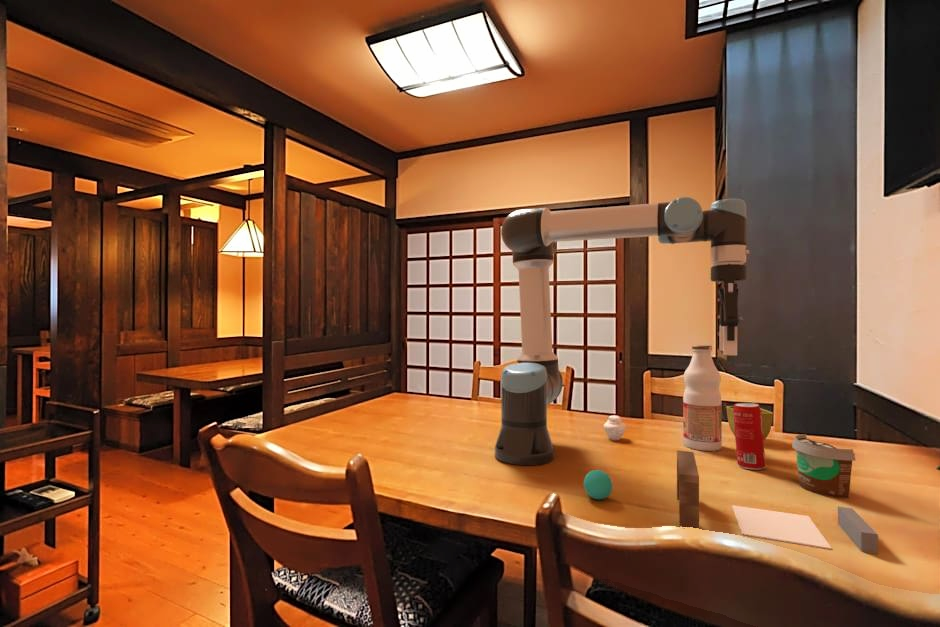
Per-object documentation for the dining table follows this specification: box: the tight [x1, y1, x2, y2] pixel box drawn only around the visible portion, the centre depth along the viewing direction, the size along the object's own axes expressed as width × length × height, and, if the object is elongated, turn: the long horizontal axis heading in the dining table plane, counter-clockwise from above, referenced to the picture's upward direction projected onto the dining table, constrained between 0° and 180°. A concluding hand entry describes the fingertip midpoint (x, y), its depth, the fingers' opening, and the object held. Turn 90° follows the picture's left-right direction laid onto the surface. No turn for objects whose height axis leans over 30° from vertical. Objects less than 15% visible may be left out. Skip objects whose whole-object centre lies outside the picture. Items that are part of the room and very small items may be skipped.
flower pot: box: [725, 405, 774, 441], centre depth 130 cm, size 9×9×9 cm
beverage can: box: [733, 402, 767, 471], centre depth 108 cm, size 6×6×15 cm
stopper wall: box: [837, 506, 879, 555], centre depth 74 cm, size 2×10×3 cm, turn 157°
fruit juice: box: [682, 344, 723, 452], centre depth 125 cm, size 9×9×28 cm
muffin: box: [603, 414, 626, 441], centre depth 133 cm, size 6×6×7 cm
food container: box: [791, 433, 856, 499], centre depth 94 cm, size 12×6×10 cm, turn 5°
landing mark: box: [731, 504, 833, 550], centre depth 78 cm, size 12×12×1 cm
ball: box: [583, 469, 613, 500], centre depth 90 cm, size 6×6×6 cm
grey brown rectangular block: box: [676, 449, 700, 529], centre depth 84 cm, size 3×14×9 cm, turn 157°
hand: (727, 352), depth 109 cm, fingers open, 13 cm apart
